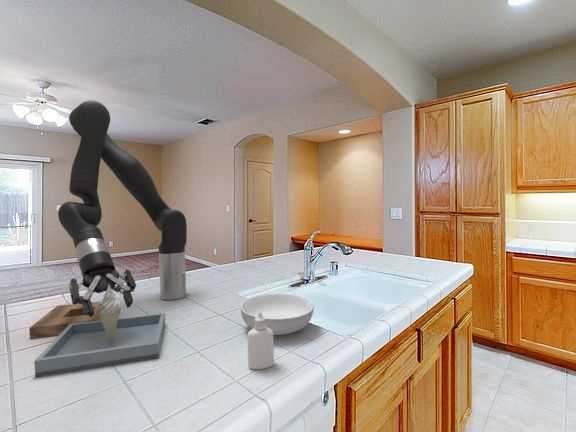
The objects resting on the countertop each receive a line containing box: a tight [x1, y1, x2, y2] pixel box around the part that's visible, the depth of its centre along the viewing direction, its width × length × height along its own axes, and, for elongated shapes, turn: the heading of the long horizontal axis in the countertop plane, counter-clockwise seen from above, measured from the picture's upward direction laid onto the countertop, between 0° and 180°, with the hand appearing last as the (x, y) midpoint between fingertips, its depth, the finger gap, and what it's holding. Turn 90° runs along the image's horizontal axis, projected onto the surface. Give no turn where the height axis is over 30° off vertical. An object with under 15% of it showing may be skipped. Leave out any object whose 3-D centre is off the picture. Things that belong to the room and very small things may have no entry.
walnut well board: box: [29, 300, 102, 340], centre depth 93 cm, size 18×18×3 cm
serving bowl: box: [240, 293, 315, 336], centre depth 87 cm, size 21×21×7 cm
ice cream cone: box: [98, 285, 122, 343], centre depth 77 cm, size 5×5×15 cm
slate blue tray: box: [33, 312, 166, 378], centre depth 77 cm, size 24×20×4 cm
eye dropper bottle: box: [247, 312, 275, 370], centre depth 67 cm, size 4×6×12 cm
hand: (111, 310), depth 76 cm, fingers open, 8 cm apart
